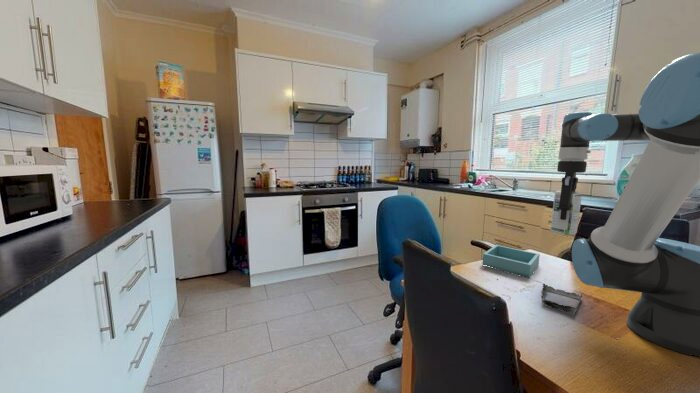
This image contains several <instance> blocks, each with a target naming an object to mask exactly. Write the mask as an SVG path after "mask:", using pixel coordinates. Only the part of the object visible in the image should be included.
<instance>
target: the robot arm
mask: <svg viewBox="0 0 700 393" xmlns="http://www.w3.org/2000/svg"><path fill="white" fill-rule="evenodd" d="M639 105H640V108H639V109H638V113H617V114H615V113H613V114H610V113H608V112H599V113H592V112H590V111H577V112H570V113H567V114H565V115H564V116H563V121H562V124H561V136H560V146H559V149H558V150H559V152H558V160H559V161H558V162H557V169H556V170H557V172H559V173H565V174H564V176H563V177H561V190H560V191H561V196H560V203H559V207H557V209H559V216H558V224H557V228H559V229H566V230H567V228H568V221H569V213H570V210H569V209H570V208H569V207H570V201H571V194H572V192H576V190H577V187H578V186H577V184H578V182H579V177H577V174H578V173H580V174H583V173H585V172H586V170H587V163H588V162H587V161H585V160H588V156H589V155H588V154H591V152H592V151H591V150H589V147H590V142H605V141H606V142H607V141H608V142H610V141H613V142H617V141H618V142H620V141H648V144H647V145H646V147H645V149H644V151H643V153H642V155H641V157H640V159H639V161H638V163H637V164H636V166H635V168H634V170H633V171H632V174H631V175H630V177H629V179H628V181H627V183H626V184H625V186H624V188H623V190H622V193H621V194H620V195H619V198H618V200H617V202H616V203H615V205H614V207H613V210H612V211H611V213H610V214H609V217H608V219H607V221H606V223H605V224H604V225H603V226H599V227H596V228H595V229H593V230H592V232H591V233H590V236H589V237H588V238H584V237H583V238H582V237H581V238H577V239H575V240H574V241H573V244H572V247H571V259H572V267H573V269H574V273H575V274H576V277H577V278H578V280H579V281H580V282H581V283H583V284H584V285H587V286H591V287H596V288H600V289H609V290H610V289H611V290H619V291H626V292H627V291H628V292H634V293H640V294H641V295H640V298H638V300H637V302H636V303H635V304H634V305H633V307H632V308H631V309H630V310H629V311H628V314H627V317H626V325H627V326H628V327H629V329H630V330H631V331H633V332H634V333H635V334H637V335H638V336H640V337H642V338H644V339H645V340H648V341H650V342H652V343H654V344H656V345H659V346H660V347H664V348H666V349H669V350H671V351H674V352H678V353H681V354H684V353H685V354H684V355H688V354H691V355H690V356H692V355H695V356H694V357H697V356H700V246H699V245H695V244H692V243H687V242H684V241H678V240H674V239H667V238H662V237H661V235H662V233H663V232H664V231H665V229H666V228H667V227H668V225H669V224H670V223H671V220H672V219H673V218H674V216H675V215H676V214H677V212H678V211H679V210H680V208H681V207H682V205H683V204H684V203H685V201H686V200H687V199H688V197H689V195H690V194H691V193H692V191H693V189H694V188H695V186H696V185H697V184H698V183H699V182H700V52H695V53H694V52H693V53H689V54H686V55H683V56H681V57H678V58H676V59H674V60H672V61H671V63H669V64H666V65H665V66H664V67H663V68H662V69H660V71H658V72H657V73H656V74H655V75H654V77H652V79H651V80H650V81H649V83H648V84H647V86H646V88H645V90H644V91H643V94H642V96H641V97H640V100H639Z"/></svg>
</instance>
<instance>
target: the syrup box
mask: <svg viewBox="0 0 700 393" xmlns="http://www.w3.org/2000/svg"><path fill="white" fill-rule="evenodd" d="M560 196H561V190H556V191H555V192H554V196H553V204H552V214H551V222H550V232H552V233H557V234H560V235H564V236H565V235H566V236H572V235H576V234H577V233H578V227H579V221H580V220H579V217H580V211H581V204H582V197H583V192H578V191H577V192H576V191H575V192H572V194H571V201H570V207H569V208H570V209H569V210H570V213H569V221H568V228H567V230H566V229H559V228H557V224H558V216H559V209H557V207H559V203H560Z"/></svg>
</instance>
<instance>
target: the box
mask: <svg viewBox="0 0 700 393" xmlns="http://www.w3.org/2000/svg"><path fill="white" fill-rule="evenodd" d="M540 256H541V255H540V253H537V252H536V253H535V252H532V251H528V250H527V251H526V250H523V249H518V248H512V247H509V246H508V247H507V246H505V245H499V244H495V245H494V246H493V247H491V248H490V249H488V250H487V251H485V252H483V255H482V262H481V263H482V264H483V265H487V266H490V267H493V268H496V269H499V270H498V271H500V270H502V271H501V272H504V271H506V272H505V273H507V272H509V273H508V274H511V273H513V274H512V275H515V274H516V275H515V276H519V275H520V277H522V276H524V277H523V278H526V277H527V278H526V279H530V278H531V277H532V276H533V274H534V273H535V271H536V270H537V269H538V267H539V264H540V263H539V262H540ZM493 268H492V269H493ZM496 269H495V270H496ZM533 272H534V273H533ZM530 276H531V277H530Z"/></svg>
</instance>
